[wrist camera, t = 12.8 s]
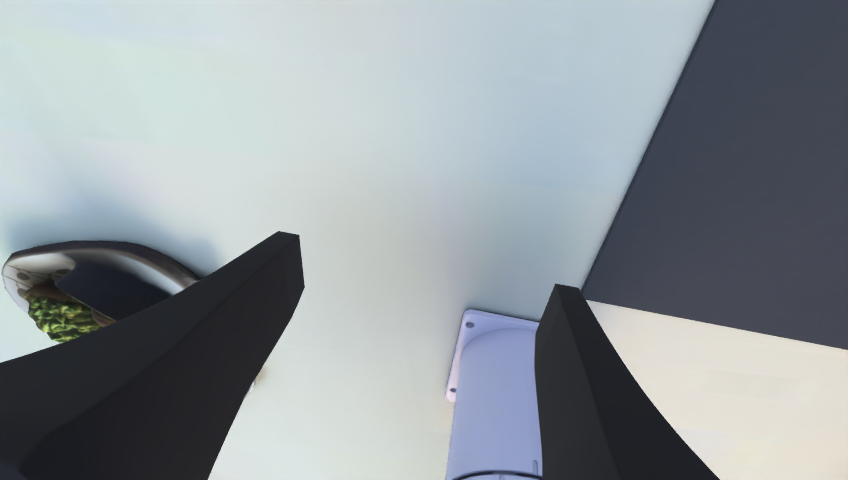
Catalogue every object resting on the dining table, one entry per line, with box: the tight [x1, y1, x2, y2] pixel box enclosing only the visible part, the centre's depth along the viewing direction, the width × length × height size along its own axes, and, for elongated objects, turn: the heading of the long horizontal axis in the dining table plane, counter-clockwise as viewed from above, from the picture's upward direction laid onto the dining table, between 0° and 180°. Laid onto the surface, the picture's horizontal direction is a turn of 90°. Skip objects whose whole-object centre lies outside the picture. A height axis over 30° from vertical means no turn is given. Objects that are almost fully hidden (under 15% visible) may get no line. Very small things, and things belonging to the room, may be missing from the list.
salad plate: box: [2, 241, 256, 399], centre depth 31 cm, size 19×18×5 cm
